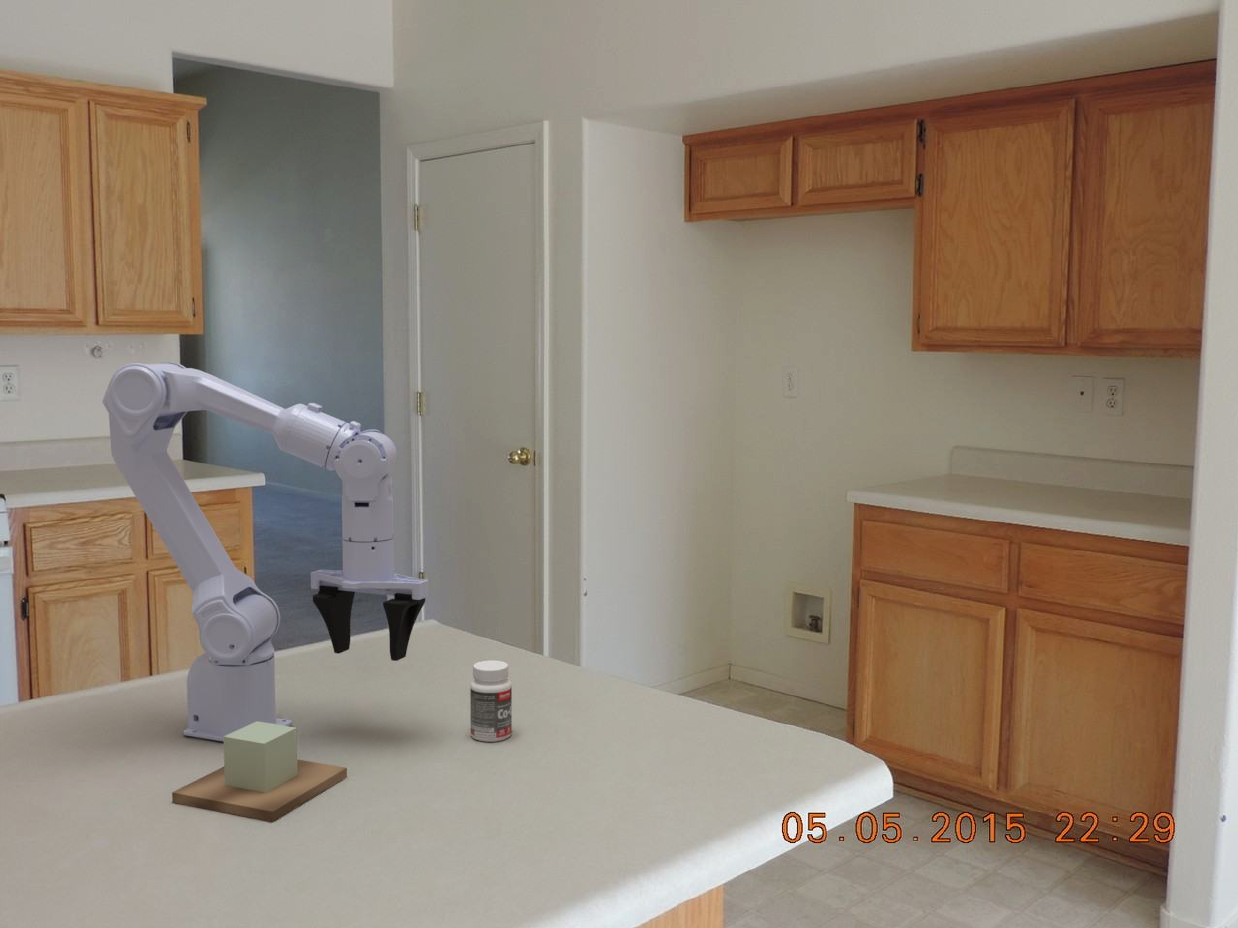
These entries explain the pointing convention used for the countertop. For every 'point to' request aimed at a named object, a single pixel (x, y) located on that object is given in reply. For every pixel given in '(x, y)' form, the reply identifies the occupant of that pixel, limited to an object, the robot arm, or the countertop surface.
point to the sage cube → (260, 756)
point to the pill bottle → (491, 702)
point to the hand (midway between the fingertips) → (369, 654)
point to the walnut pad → (259, 804)
